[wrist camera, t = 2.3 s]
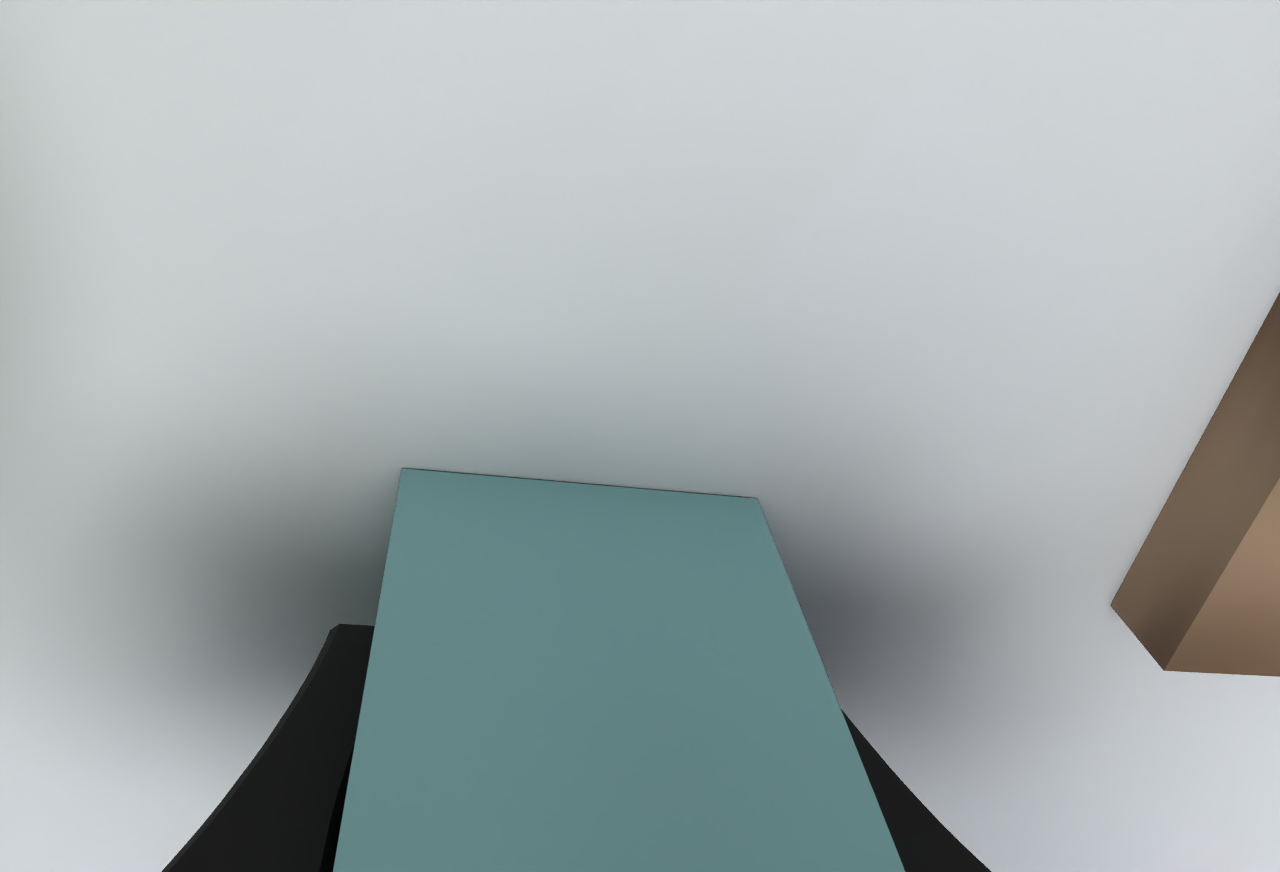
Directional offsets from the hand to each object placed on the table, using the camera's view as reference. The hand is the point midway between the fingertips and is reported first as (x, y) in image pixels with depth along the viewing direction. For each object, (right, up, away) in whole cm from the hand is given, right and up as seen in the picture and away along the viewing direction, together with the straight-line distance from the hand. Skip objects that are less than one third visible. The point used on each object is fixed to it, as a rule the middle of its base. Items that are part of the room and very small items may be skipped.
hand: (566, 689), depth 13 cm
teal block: (0, +1, +1) cm, 1 cm away
